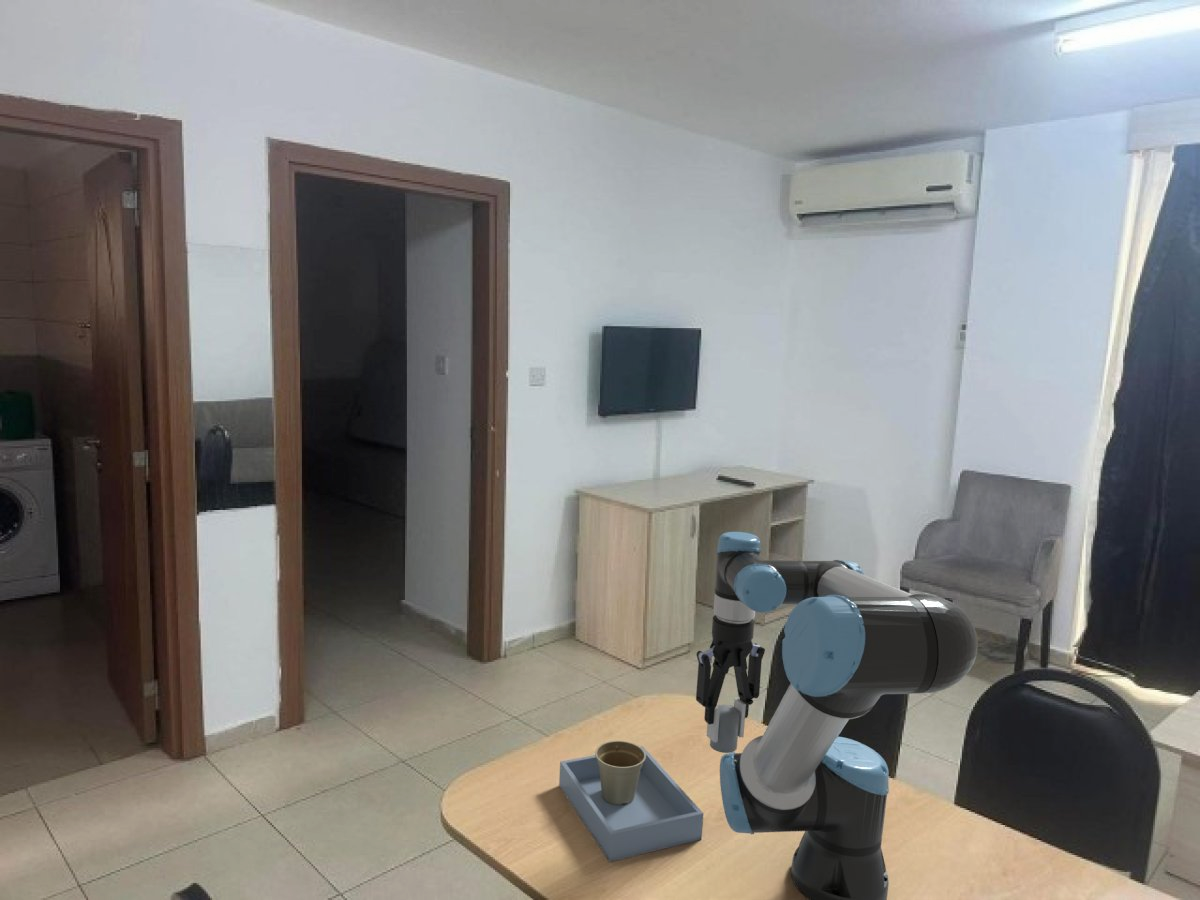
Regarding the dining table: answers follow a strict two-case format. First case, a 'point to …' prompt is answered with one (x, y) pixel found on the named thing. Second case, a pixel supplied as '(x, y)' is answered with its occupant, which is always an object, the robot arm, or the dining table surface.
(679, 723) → the dining table surface
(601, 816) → the tote
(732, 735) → the canister
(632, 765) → the flower pot
